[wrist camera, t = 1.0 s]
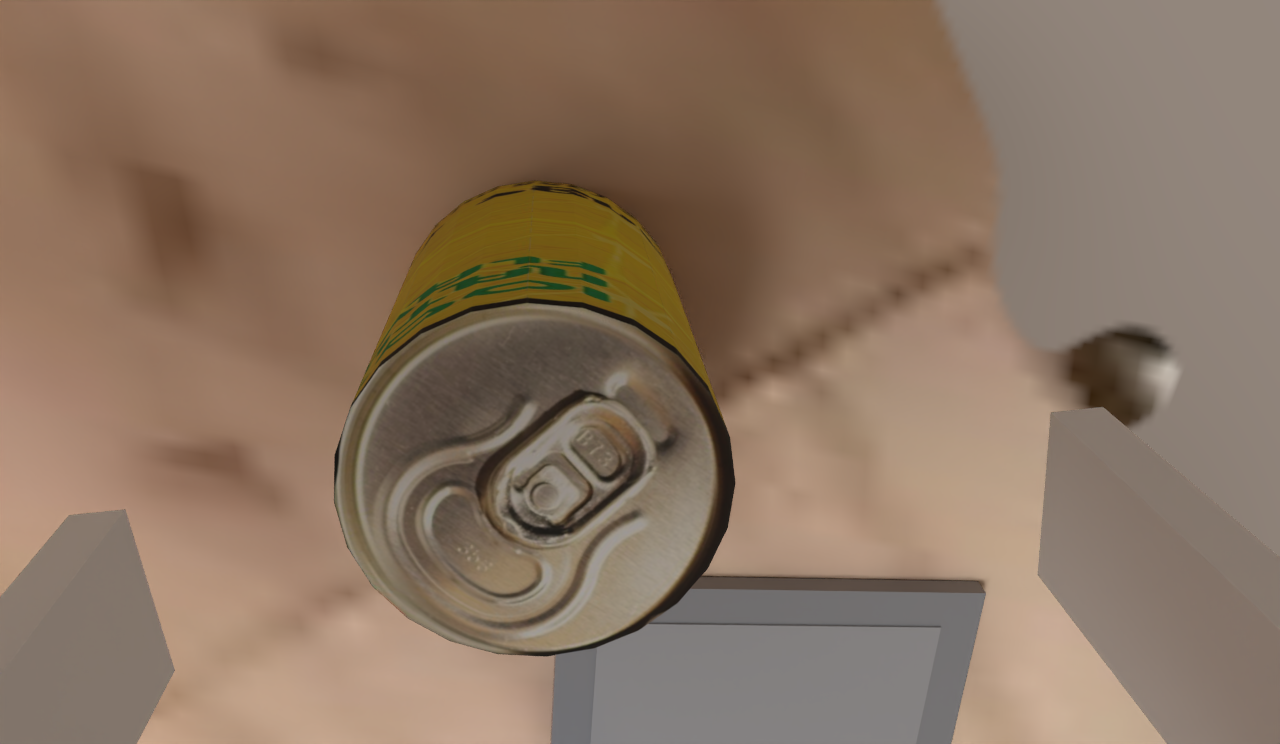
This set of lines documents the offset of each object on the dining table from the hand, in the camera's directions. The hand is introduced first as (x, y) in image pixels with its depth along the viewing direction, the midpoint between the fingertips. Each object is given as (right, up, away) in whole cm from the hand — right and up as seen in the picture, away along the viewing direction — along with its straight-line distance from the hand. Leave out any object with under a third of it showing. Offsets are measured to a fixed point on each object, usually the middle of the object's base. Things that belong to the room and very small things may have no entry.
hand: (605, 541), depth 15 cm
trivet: (+5, -13, +27) cm, 30 cm away
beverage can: (-3, +4, +20) cm, 20 cm away
